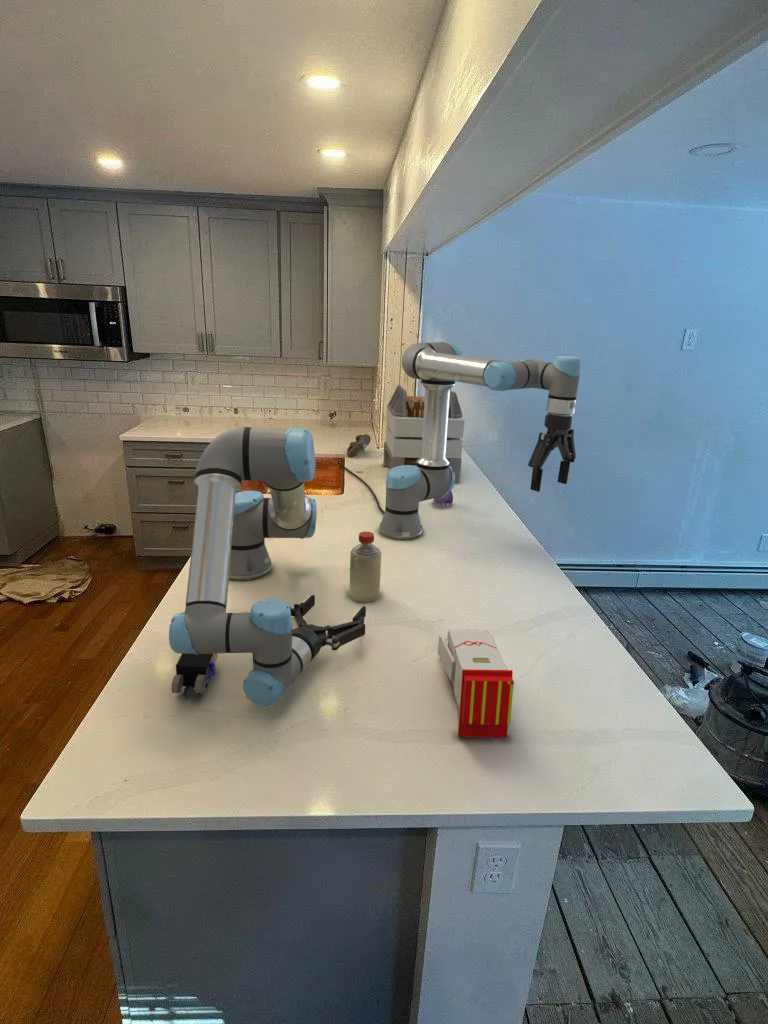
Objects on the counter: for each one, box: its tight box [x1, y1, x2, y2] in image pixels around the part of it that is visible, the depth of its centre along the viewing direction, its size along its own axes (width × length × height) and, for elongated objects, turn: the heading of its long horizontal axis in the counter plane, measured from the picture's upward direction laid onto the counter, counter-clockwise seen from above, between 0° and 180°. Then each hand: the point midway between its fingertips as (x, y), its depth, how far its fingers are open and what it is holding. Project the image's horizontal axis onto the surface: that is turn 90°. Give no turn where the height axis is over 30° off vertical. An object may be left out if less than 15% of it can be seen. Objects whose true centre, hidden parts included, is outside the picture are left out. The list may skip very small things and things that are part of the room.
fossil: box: [346, 433, 372, 458], centre depth 305 cm, size 22×10×15 cm
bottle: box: [348, 542, 382, 603], centre depth 154 cm, size 8×8×18 cm
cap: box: [358, 531, 375, 544], centre depth 151 cm, size 4×4×2 cm
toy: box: [437, 628, 515, 738], centre depth 117 cm, size 12×13×30 cm
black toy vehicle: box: [170, 653, 218, 699], centre depth 117 cm, size 7×8×15 cm
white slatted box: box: [383, 384, 465, 484], centre depth 268 cm, size 34×33×41 cm
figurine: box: [432, 490, 454, 509], centre depth 228 cm, size 9×10×15 cm
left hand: (338, 605), depth 139 cm, fingers open, 13 cm apart
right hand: (548, 486), depth 165 cm, fingers open, 13 cm apart
